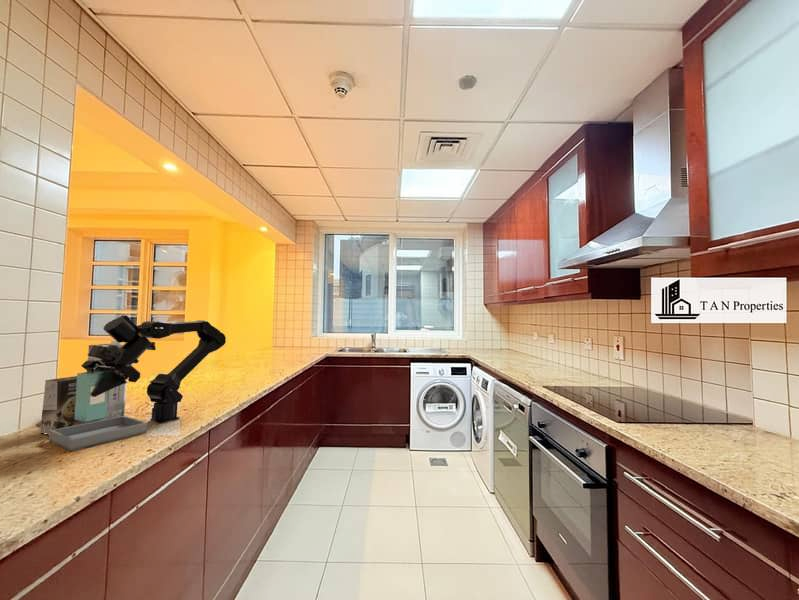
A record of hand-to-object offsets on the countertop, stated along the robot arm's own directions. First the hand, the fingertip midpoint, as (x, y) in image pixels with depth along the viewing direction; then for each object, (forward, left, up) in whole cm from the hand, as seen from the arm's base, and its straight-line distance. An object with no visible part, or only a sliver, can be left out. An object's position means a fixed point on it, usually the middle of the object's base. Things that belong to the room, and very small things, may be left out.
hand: (86, 395), depth 98 cm
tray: (-5, -2, -13) cm, 14 cm away
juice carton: (-13, -20, -13) cm, 27 cm away
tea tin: (-1, 0, -7) cm, 7 cm away
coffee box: (-2, -17, -13) cm, 21 cm away
